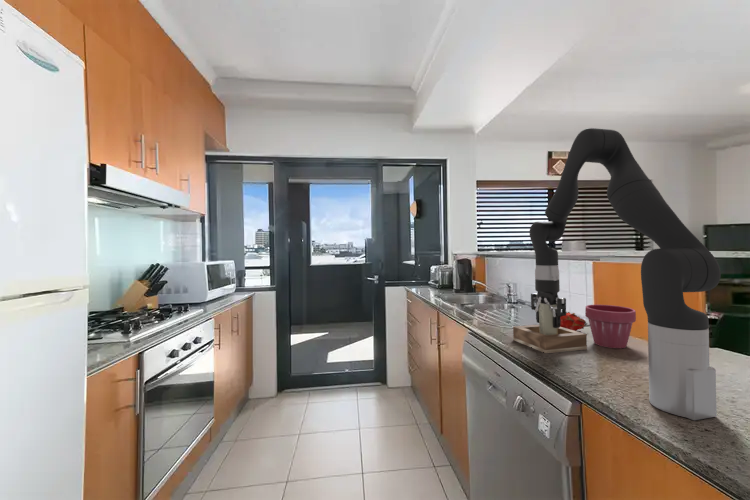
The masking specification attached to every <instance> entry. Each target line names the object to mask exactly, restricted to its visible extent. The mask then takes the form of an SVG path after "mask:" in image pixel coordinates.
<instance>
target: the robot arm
mask: <svg viewBox="0 0 750 500" xmlns="http://www.w3.org/2000/svg"><path fill="white" fill-rule="evenodd" d="M567 155H568V156H567V158H566V162H565V164H564V166H563V170H562V173H561V177H560V179H559V182H558V185H557V187H556V190H555V191H554V194H553V195H552V197H551V199H550V201H549V203H548V205H547V207H546V208H545V211H544V215H545V216H546V218H548V220H550V221H548V220H547V221H535V222H533V223H532V224H531V226H530V228H529V237H530V241H531V244H532V247H533V250H534V254H535V255H534V258H535V268H534V284H535V285H534V287H535V289H534V290H535V291H536V293H535V292H534V293H533V292H532V293H530V305H531V306H530V308H531V310H532V311H534V312H535V320H536V323H538V324H539V306H540V303H544V304H547V305H549V310H550V311H551V312H552V314H553V316H554V317H553V327H554V328H560V325H561V319H560V318H561V316H565V315H566V312H567V299H566V297H559V295H558V293H559V292H560V290H561V288H560V268H559V253H558V250H557V249H556V248H552V247H549V246H548V244H547V242H556V241H558V240H560V239H561V238H562V237H563V236H564V234H565V230H566V225H567V223H568V217H569V216H570V214H571V212H572V211H573V209H574V208H575V205H576V204H577V201H578V200H579V184H578V182H579V181H578V178H579V175H580V174H579V173H580V171H581V169H582V167H584V166H585V165H584V164H585V163H594V164H601V165H602V166H604V168H605V169H606V170H607V172H608V173H609V175H610V179H609V183H608V184H607V189H606V196H607V197H606V198H607V200H608V201H609V204H610V205H611V206H612V208H613V210H614V212H615V214H616V215H617V216H618V218H620V219H621V221H623V223H625V224H627V225H628V226H629V227H631V228H632V229H635V230H636V231H638V232H639V233H641V234H642V235H645V236H646V237H647V238H649V239H650V240H651V241H652V242H654V243H655V244H656V245H657V246H658V248H654V249H651V250H650V251H648V252H646V253H645V255H644V256H643V258H642V261H641V265H640V280H641V293H642V301H643V302H642V303H643V308H644V311H645V313H646V317H647V346H648V347H647V354H648V355H647V356H648V357H647V358H648V395H649V397H648V399H649V400H648V401H649V403H650V404H651V405H652V406H653V407H654V408H656V409H659V410H661V411H663V412H666V413H669V414H672V415H675V416H679V417H683V418H687V419H689V420H692V421H699V420H703V419H704V420H705V419H709V418H714V417H717V416H718V415H717V413H718V412H717V411H718V410H717V370H716V368H715V367H713V366H710V330H709V327H710V326H709V325H710V323H709V317H708V315H707V314H706V313H705V312H702V311H700V310H697V309H694V308H691V307H690V306H688V305H687V304H686V302H685V299H684V293H701V292H708V291H711V290H713V289H714V288H717V286H718V284H719V283H720V281H721V276H722V275H721V267H720V264H719V262H718V260H717V259H716V257H715V256H714V255H713V253H711V251H710V250H709V249H708V248H707V247H706V245H704V243H702V241H700V239H699V238H697V237H696V235H694V234H693V232H692V231H691V230H689V228H688V227H687V226H686V225H685V224H684V223H683V222H682V220H681V219H680V218H679V216H677V214H676V213H675V212H674V210H673V209H672V208H671V206H670V205H669V204H668V202H667V201H666V200H665V198H663V195H662V194H661V193H660V191H659V190H658V188H657V187H656V186H655V184H654V183H653V181H651V179H650V178H649V177H648V175H647V174H646V173H645V172H644V170H643V168H642V167H641V166H640V164H639V163H638V161H637V160H636V158H635V157H634V155H633V154H632V152H631V150H630V147H629V145H628V144H627V141H626V140H625V138H624V137H623V135H622V134H621V133H620V132H619V131H617V130H615V129H608V128H597V127H587V128H584V129H582V130H581V131H580V132H578V134H577V136H576V137H575V139H574V140H573V143H572V145H571V147H570V150H569V152H568V154H567ZM551 305H557V307H552V306H551ZM555 310H557V313H556V312H555Z"/></svg>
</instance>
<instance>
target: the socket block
mask: <svg viewBox="0 0 750 500" xmlns="http://www.w3.org/2000/svg"><path fill="white" fill-rule="evenodd" d="M512 331H513V333H512V337H513V341H514V342H517V343H519V344H522V345H525V346H527V347H529V348H531V347H532V349H534V350H536V351H538V352H541V353H543V352H544V353H543V354H552V353H553V354H554V353H562V352H573V351H580V350H587V349H588V347H587V346H588V345H587V344H588V343H587V341H588V340H587V339H588V338H587V333H584V332H582V331H581V332H577V331H578V330H577V331H574V330H570V329H567V328H563V327H560V328H558V334H555V335H544V334H541V333H540V330H539V324H528V325H519V326H517V325H515V326H512Z"/></svg>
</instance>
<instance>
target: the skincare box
mask: <svg viewBox="0 0 750 500" xmlns="http://www.w3.org/2000/svg"><path fill="white" fill-rule="evenodd" d="M551 306H552V307H557V305H551ZM555 312H556V313H557V310H555ZM553 317H554V316H553V314H552V312H551V311H550V310H549V305H547V304H544V303H540V306H539V323H538V325H539V330H540V333H541V334H544V335H555V334H558V328H554V327H553Z"/></svg>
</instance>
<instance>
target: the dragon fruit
mask: <svg viewBox="0 0 750 500" xmlns="http://www.w3.org/2000/svg"><path fill="white" fill-rule="evenodd" d="M560 319H561V325H560V327H563V328H567V329H570V330H574V331H577V332H581V333H582V331H581V330H582V329H583V330H584V328H585V326H587V325H588V322H587V321H586V320H585V319H583V318H581V317H580V316H578V315H576V313H575V312H572V313H571V312H570V311H566V315H565V316H561V318H560Z"/></svg>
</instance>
